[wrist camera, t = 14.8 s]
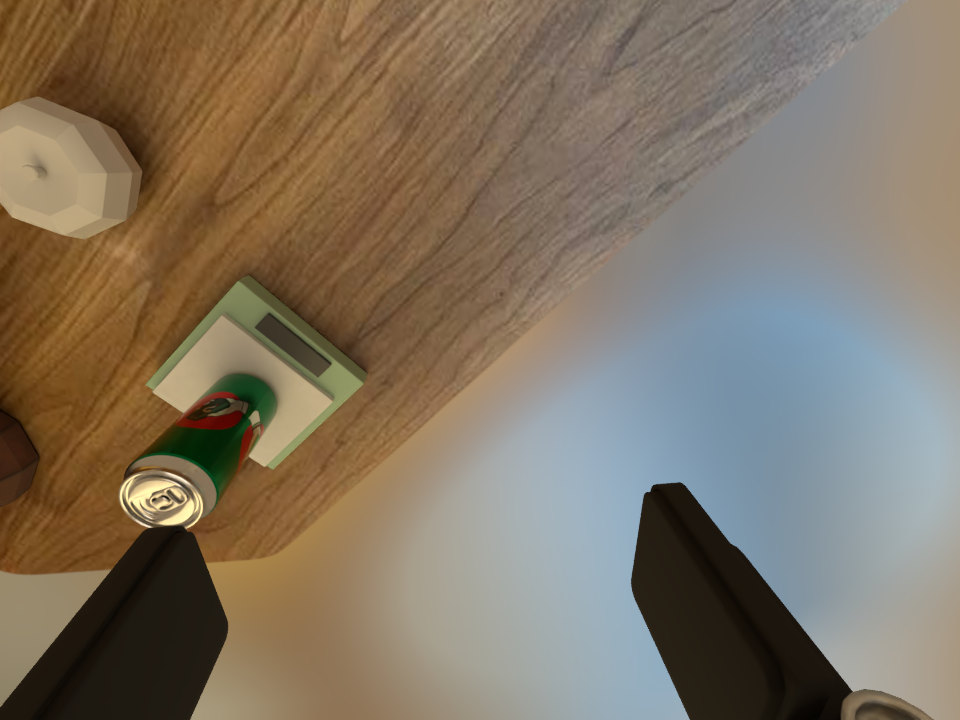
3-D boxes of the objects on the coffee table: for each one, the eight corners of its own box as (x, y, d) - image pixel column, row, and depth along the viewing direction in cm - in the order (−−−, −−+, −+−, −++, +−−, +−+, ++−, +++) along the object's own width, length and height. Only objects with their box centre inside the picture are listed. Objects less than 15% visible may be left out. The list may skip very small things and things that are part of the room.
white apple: (132, 253, 33) (64, 273, 27) (21, 170, 30) (-83, 171, 24) (194, 172, 31) (135, 173, 25) (81, 76, 28) (-15, 51, 22)
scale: (248, 274, 34) (234, 282, 32) (367, 373, 38) (363, 386, 36) (159, 373, 37) (139, 388, 34) (279, 456, 41) (270, 474, 38)
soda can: (199, 387, 35) (88, 489, 24) (253, 359, 34) (165, 450, 23) (241, 435, 37) (156, 549, 26) (292, 409, 36) (229, 515, 25)
